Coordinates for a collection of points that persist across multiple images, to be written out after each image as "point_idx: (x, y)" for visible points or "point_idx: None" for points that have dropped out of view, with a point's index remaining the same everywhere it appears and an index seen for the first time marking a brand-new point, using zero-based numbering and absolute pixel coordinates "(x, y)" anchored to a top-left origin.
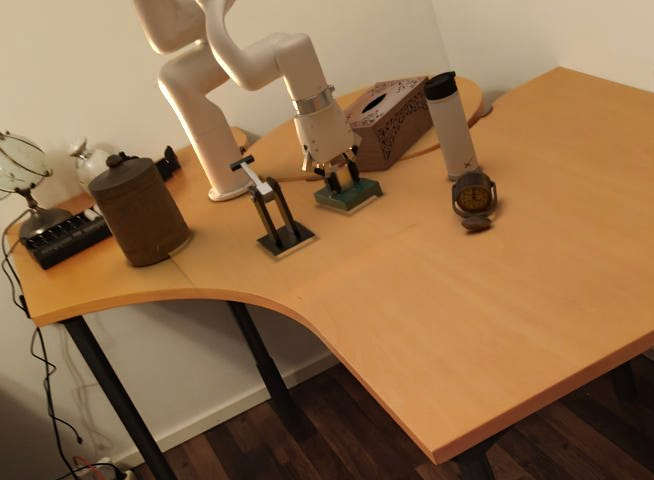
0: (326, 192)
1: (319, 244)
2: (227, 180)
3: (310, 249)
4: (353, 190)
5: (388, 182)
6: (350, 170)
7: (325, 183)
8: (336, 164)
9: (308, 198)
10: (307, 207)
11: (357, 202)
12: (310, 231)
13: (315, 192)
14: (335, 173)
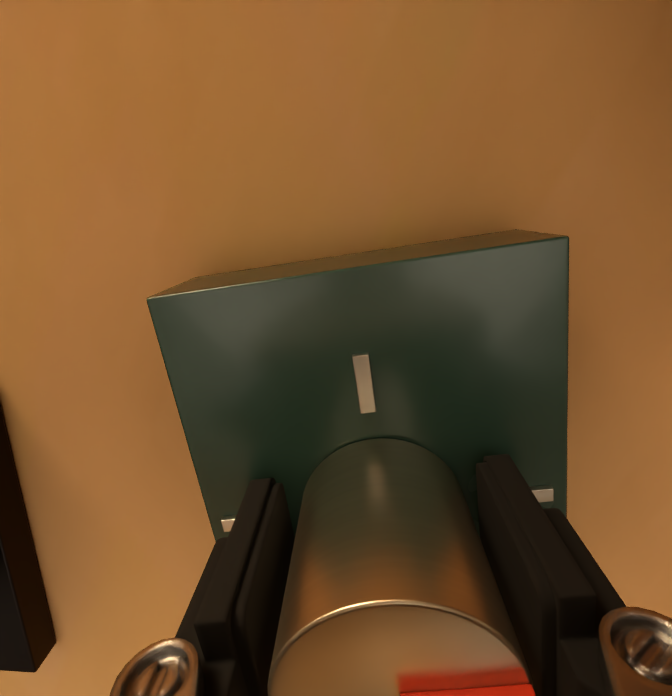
0: (241, 416)
1: (53, 683)
2: None
3: (6, 681)
4: None
5: (662, 478)
6: (513, 610)
7: (198, 598)
8: (446, 615)
9: (191, 7)
10: (128, 192)
11: None
12: (20, 628)
13: (171, 301)
14: None
